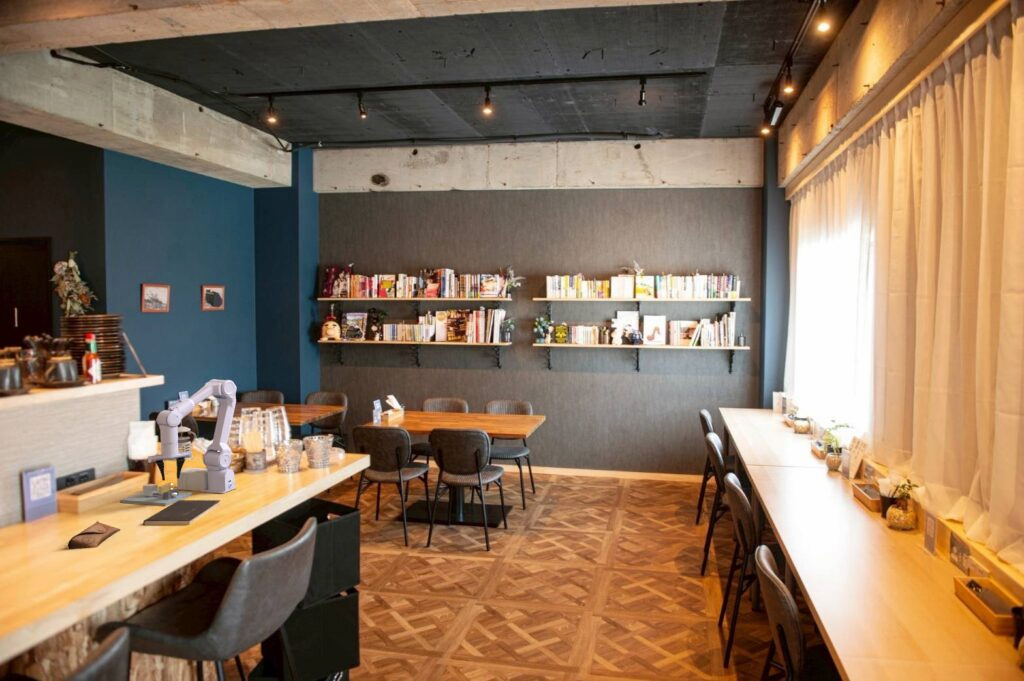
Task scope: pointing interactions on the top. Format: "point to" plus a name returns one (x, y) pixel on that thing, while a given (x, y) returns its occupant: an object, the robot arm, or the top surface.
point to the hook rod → (154, 491)
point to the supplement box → (193, 479)
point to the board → (153, 499)
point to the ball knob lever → (165, 488)
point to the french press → (184, 441)
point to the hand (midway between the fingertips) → (170, 479)
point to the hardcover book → (182, 512)
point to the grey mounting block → (168, 494)
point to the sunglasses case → (92, 536)
